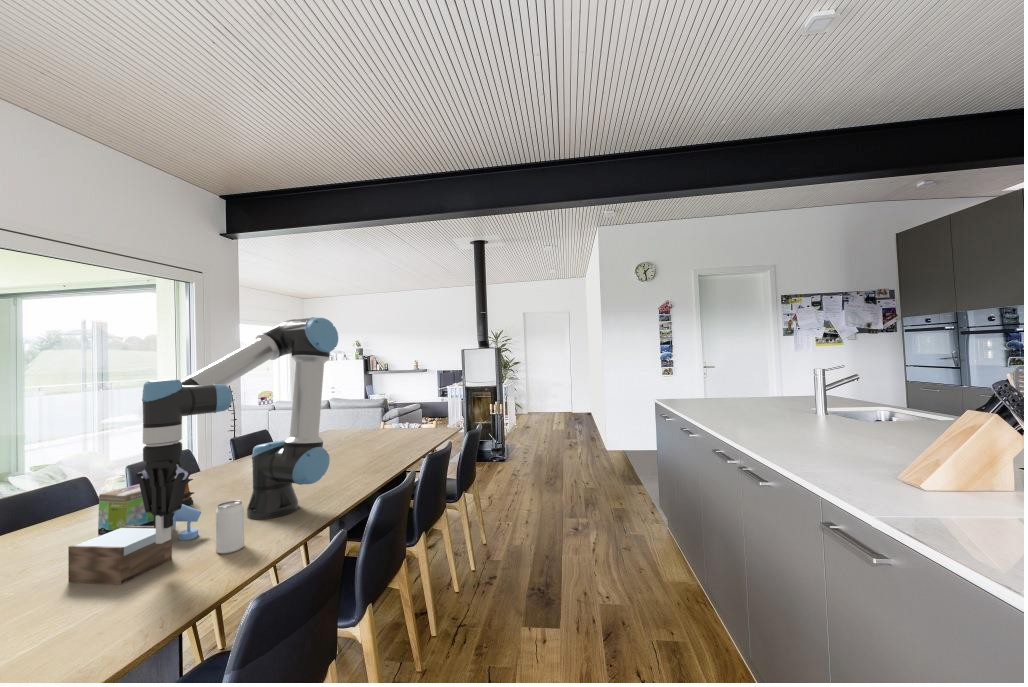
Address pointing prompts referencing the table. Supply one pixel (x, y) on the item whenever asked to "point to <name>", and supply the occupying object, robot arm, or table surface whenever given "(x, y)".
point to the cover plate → (124, 539)
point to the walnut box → (114, 562)
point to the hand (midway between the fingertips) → (163, 541)
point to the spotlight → (187, 516)
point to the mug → (187, 495)
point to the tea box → (123, 510)
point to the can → (229, 527)
